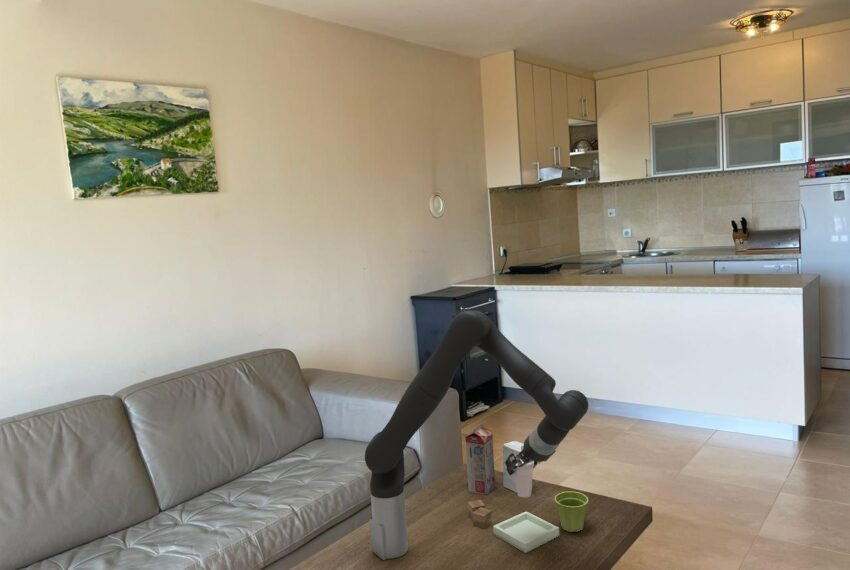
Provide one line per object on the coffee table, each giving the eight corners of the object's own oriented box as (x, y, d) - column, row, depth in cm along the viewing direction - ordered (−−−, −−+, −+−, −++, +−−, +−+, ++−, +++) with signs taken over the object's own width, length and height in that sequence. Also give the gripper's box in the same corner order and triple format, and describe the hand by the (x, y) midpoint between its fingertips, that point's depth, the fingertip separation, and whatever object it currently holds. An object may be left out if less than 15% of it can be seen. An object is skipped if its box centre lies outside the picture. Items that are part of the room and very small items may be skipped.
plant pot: (595, 525, 181) (594, 496, 180) (578, 539, 174) (577, 509, 173) (566, 516, 188) (565, 488, 187) (549, 529, 181) (548, 500, 180)
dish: (525, 553, 169) (525, 544, 169) (493, 534, 180) (493, 526, 180) (559, 536, 177) (558, 527, 176) (526, 519, 187) (526, 511, 187)
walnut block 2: (484, 529, 183) (483, 516, 183) (473, 525, 186) (472, 512, 185) (492, 523, 186) (491, 510, 186) (480, 519, 189) (480, 507, 188)
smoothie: (534, 489, 180) (532, 441, 178) (536, 499, 173) (534, 450, 172) (512, 489, 180) (509, 442, 179) (513, 499, 174) (510, 451, 172)
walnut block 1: (473, 520, 189) (472, 507, 188) (468, 514, 193) (467, 502, 192) (485, 517, 190) (484, 505, 189) (481, 512, 194) (480, 499, 193)
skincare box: (503, 487, 209) (500, 444, 208) (516, 481, 213) (513, 439, 211) (521, 495, 203) (519, 451, 201) (534, 489, 206) (532, 445, 204)
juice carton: (495, 486, 210) (491, 422, 208) (486, 494, 205) (483, 429, 202) (477, 483, 214) (473, 420, 211) (468, 491, 208) (464, 427, 205)
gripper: (558, 423, 171) (534, 451, 183) (513, 434, 165) (492, 462, 177) (571, 448, 166) (546, 475, 178) (526, 460, 160) (503, 487, 172)
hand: (519, 469), depth 177 cm, fingers closed on smoothie, 6 cm apart
